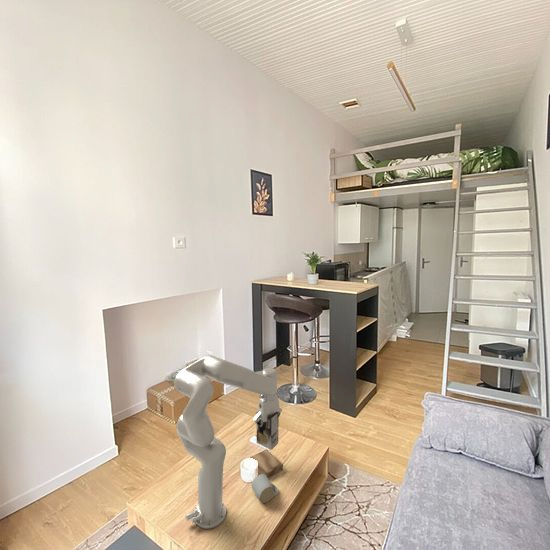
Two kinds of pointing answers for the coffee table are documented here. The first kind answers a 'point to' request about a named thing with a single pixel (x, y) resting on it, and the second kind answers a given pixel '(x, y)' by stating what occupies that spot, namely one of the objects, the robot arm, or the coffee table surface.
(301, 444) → the coffee table surface
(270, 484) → the ceramic mug
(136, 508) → the coffee table surface
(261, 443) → the coffee box
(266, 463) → the walnut tray
